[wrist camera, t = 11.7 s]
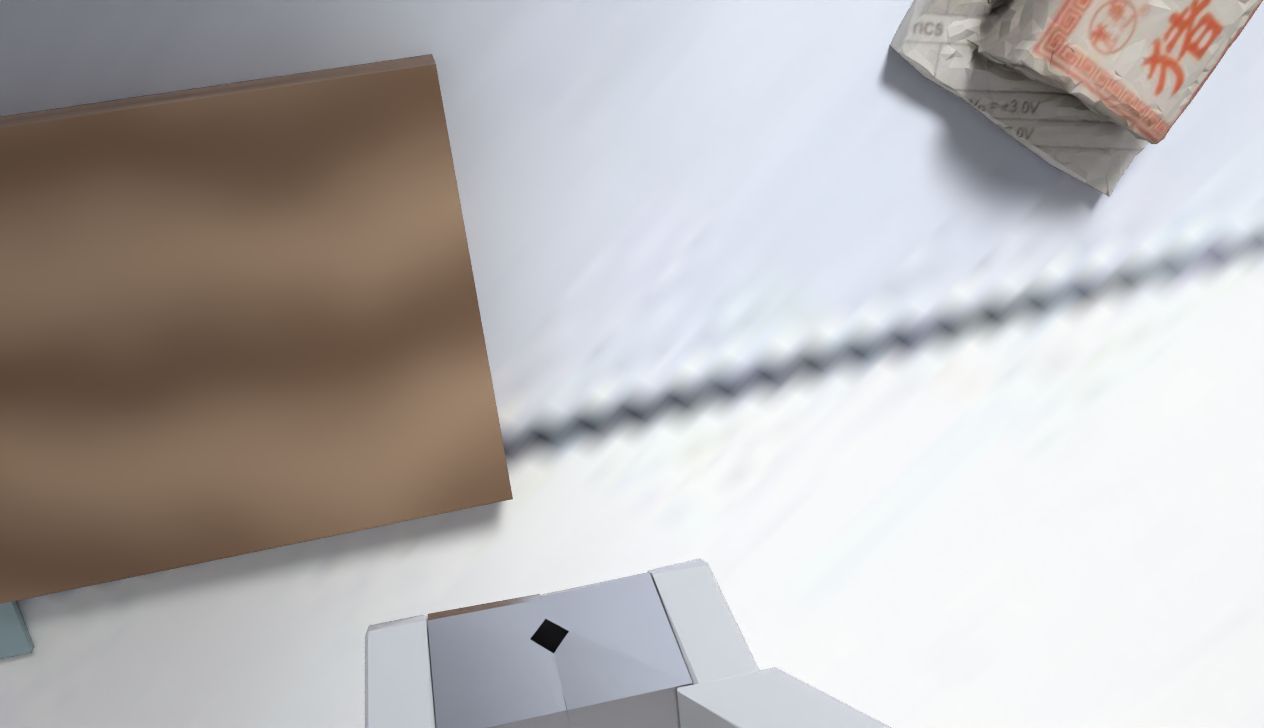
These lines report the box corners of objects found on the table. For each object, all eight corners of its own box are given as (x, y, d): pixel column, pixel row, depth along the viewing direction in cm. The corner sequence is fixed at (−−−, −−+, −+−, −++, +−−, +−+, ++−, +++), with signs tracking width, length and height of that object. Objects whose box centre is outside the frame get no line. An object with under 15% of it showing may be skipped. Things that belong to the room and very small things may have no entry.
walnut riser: (-156, 139, 31) (-188, 155, 29) (431, 54, 34) (435, 64, 32) (13, 569, 37) (-5, 604, 35) (505, 470, 39) (512, 498, 38)
